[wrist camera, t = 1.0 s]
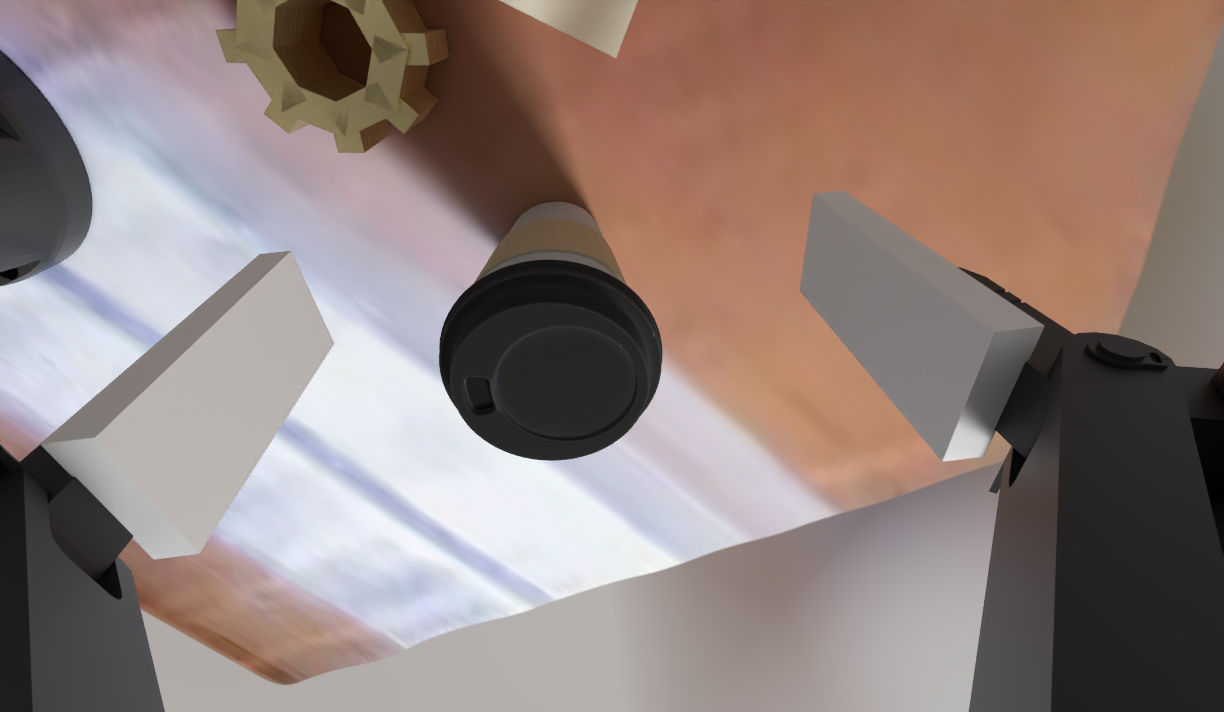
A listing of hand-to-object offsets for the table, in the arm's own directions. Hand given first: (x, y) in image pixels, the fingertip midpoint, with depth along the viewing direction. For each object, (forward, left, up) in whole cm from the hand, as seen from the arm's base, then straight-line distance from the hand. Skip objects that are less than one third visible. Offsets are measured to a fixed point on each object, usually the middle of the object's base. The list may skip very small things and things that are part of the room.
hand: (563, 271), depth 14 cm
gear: (-11, 0, -19) cm, 22 cm away
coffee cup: (+2, -7, -19) cm, 20 cm away
